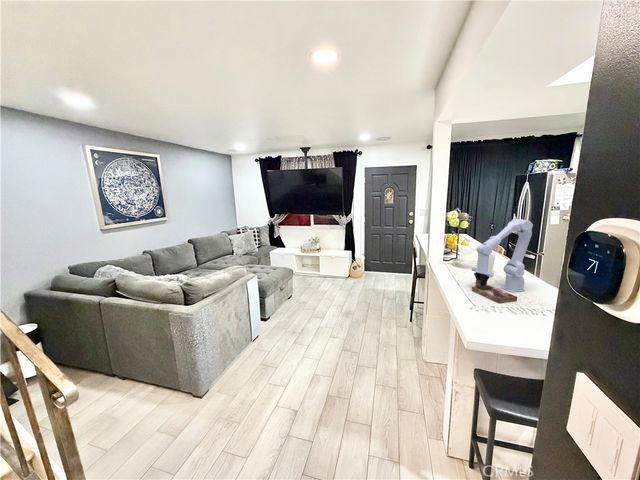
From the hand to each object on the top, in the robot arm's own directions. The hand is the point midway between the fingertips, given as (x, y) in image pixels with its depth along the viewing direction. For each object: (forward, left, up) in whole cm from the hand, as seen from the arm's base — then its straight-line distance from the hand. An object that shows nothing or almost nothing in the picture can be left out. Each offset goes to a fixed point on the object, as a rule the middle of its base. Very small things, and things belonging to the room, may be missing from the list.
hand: (480, 285), depth 160 cm
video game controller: (-1, +13, -4) cm, 13 cm away
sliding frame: (0, +9, -3) cm, 9 cm away
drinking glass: (-31, -26, -4) cm, 41 cm away
